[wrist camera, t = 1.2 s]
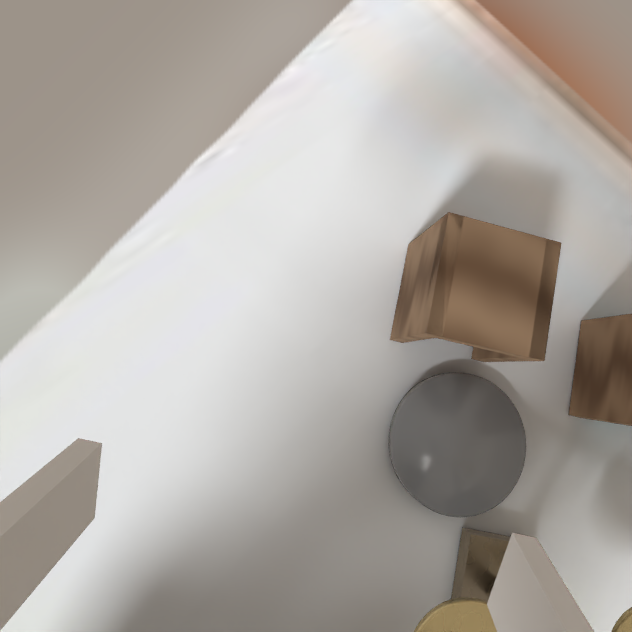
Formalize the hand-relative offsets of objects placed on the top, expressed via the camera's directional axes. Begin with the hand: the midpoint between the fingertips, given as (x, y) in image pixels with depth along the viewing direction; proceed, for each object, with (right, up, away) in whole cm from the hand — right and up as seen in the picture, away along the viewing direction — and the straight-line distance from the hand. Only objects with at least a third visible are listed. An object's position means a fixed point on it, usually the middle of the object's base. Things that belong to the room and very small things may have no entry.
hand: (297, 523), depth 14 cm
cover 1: (+13, +8, +26) cm, 30 cm away
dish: (+13, -5, +25) cm, 28 cm away
